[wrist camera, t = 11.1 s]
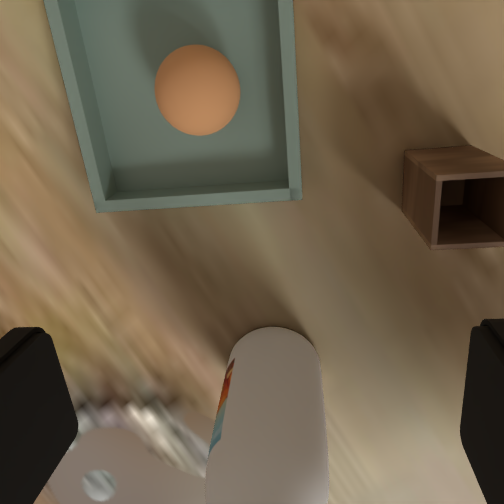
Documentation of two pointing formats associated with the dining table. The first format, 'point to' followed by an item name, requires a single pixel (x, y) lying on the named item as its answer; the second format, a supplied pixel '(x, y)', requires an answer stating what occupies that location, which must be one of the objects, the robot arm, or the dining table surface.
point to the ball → (197, 90)
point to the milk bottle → (270, 424)
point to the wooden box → (454, 197)
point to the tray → (151, 119)
